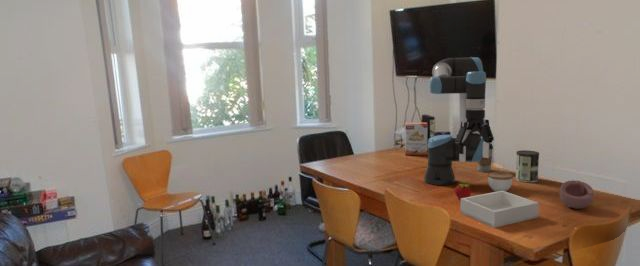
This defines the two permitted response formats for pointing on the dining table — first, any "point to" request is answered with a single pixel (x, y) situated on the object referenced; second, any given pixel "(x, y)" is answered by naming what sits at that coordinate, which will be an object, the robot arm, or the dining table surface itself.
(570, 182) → the mortar and pestle
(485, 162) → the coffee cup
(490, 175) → the lidded jar
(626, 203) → the dining table surface
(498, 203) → the bin
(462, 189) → the strawberry
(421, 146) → the cracker box
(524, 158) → the coffee can
